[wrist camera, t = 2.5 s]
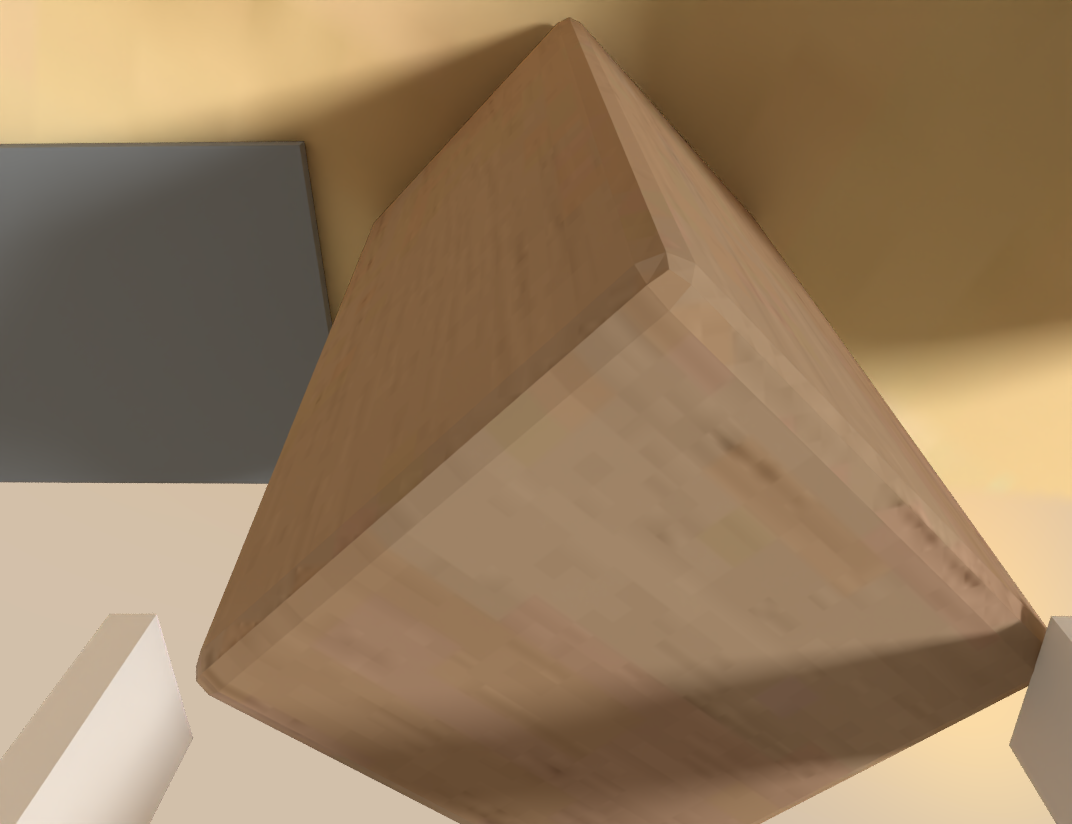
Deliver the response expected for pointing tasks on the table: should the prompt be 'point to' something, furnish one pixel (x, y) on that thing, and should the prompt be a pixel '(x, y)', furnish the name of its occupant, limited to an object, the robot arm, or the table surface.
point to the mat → (155, 309)
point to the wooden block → (601, 500)
